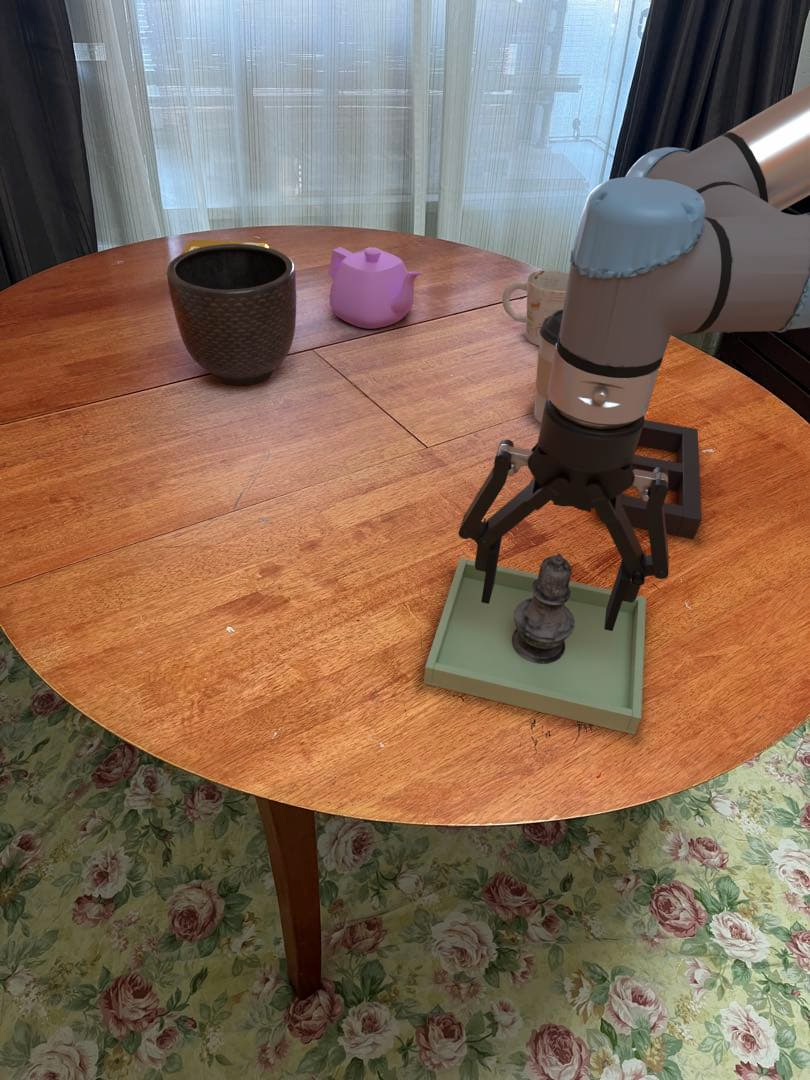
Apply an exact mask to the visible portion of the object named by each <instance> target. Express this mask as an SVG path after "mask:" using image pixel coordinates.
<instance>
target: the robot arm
mask: <svg viewBox="0 0 810 1080" xmlns="http://www.w3.org/2000/svg"><path fill="white" fill-rule="evenodd" d="M809 196H810V83H809V84H807V85H804V86H803V87H802V88H800V89H799V90H797V91H795V92H793V93H792V94H790V95H788V96H786V97H784V98H782V99H781V100H780V101H778V102H776V103H774V104H772V105H771V106H769V107H767V108H766V109H764V110H762V111H761V112H759V113H757V114H755V115H754V116H752V117H750V118H748V119H747V120H744V121H743V122H742V123H740V124H738V125H736V126H735V127H733V128H731V129H730V130H728V131H726V132H724V133H723V134H720V135H719V136H717V137H716V138H714V139H712V140H710V141H709V142H706V143H705V144H703V145H701V146H700V147H697V148H696V149H694V150H692V151H691V150H690V149H685V148H683V147H682V148H680V147H675V146H674V147H673V146H672V147H671V146H666V147H660V148H655V149H652V150H650V151H649V152H647V153H646V154H644V155H642V156H641V157H640V158H638V160H636V162H635V163H634V164H633V165H632V166H631V167H630V169H628V171H627V173H626V174H625V176H622V177H616V178H611V179H608V180H606V181H603V182H601V183H599V184H598V185H596V186H595V187H594V188H593V189H592V190H591V191H590V193H589V195H588V196H587V198H586V200H585V203H584V207H583V211H582V213H581V217H580V220H579V223H578V227H577V231H576V235H575V239H574V242H573V243H574V244H573V247H572V249H571V251H570V260H569V263H570V266H569V278H568V284H567V290H566V296H565V302H564V308H563V314H562V320H561V326H560V332H559V334H558V335H559V336H558V340H557V344H556V347H555V353H554V358H553V364H552V369H551V375H550V380H549V386H548V391H547V393H548V396H549V397H548V398H547V400H546V402H545V406H544V411H543V417H542V422H541V423H540V429H539V434H538V438H537V442H536V444H535V445H534V446H533V447H532V448H531V449H528V448H522V447H516V446H515V444H514V441H512V440H511V439H508V438H505V439H502V440H501V441H500V443H499V444H498V448H497V451H496V455H495V458H494V461H493V462H494V463H493V467H492V469H491V470H490V472H489V474H488V475H487V476H486V478H485V480H484V482H483V483H482V486H481V487H480V488H479V490H478V492H477V493H476V495H475V496H474V498H473V499H472V500H471V502H470V504H469V506H468V508H467V509H466V511H465V512H464V514H463V516H462V519H461V523H460V525H459V528H458V532H457V534H458V536H459V537H460V538H461V539H463V540H469V539H471V540H473V541H474V542H475V544H476V553H475V560H474V561H475V568H476V570H479V571H483V572H486V574H485V581H484V587H483V594H482V600H481V602H482V603H487V604H489V602H490V598H491V594H492V590H493V587H494V582H495V576H496V570H497V566H498V564H499V556H500V551H501V546H502V541H503V540H502V539H503V537H504V536H505V535H506V534H508V533H509V532H510V531H512V529H514V528H515V527H517V525H518V524H520V523H521V522H522V521H524V520H525V519H526V518H527V517H528V516H529V515H531V514H532V513H534V512H535V511H540V510H541V509H542V508H543V507H544V506H546V505H547V504H548V503H549V502H552V505H554V506H558V507H573V508H575V509H577V510H580V511H583V512H589V513H591V512H592V510H595V511H596V513H597V515H598V517H599V520H600V519H601V521H600V522H601V523H602V524H604V525H605V527H606V529H607V531H608V533H609V535H610V537H611V539H612V541H613V544H614V545H615V548H616V549H617V551H618V554H619V555H620V557H621V561H620V563H619V566H618V570H617V573H616V576H615V579H614V583H613V586H612V589H611V590H612V592H611V595H610V599H609V602H608V605H607V608H606V617H605V627H604V629H605V630H609V631H613V628H614V625H615V622H616V619H617V616H618V613H619V610H620V607H621V604H622V601H626V602H630V603H633V602H634V601H635V600H636V597H637V595H639V592H640V588H641V586H643V585H644V584H645V582H646V578H648V577H655V579H658V580H665V579H667V578H668V577H669V573H670V571H669V569H670V567H669V566H670V555H669V553H670V552H669V544H668V534H666V524H665V515H664V505H663V504H664V503H665V501H666V499H667V495H668V492H669V490H668V471H667V469H665V468H663V467H658V468H656V469H654V470H653V472H649V471H644V470H638V469H635V467H634V464H633V459H634V456H635V455H636V452H637V448H638V442H639V438H640V435H641V432H642V428H643V425H644V420H646V419H645V415H646V413H647V412H648V409H649V406H650V402H651V400H652V396H653V392H654V389H655V385H656V381H657V378H658V374H659V372H660V367H661V365H662V362H663V360H664V356H665V353H666V350H667V346H668V344H669V342H670V338H671V336H672V335H680V334H681V335H683V334H686V335H687V334H690V335H691V334H700V333H701V334H702V333H703V334H704V333H740V332H741V333H745V332H747V333H748V332H750V333H751V332H776V333H785V332H786V331H789V330H797V329H798V330H799V329H806V328H810V212H805V213H803V214H790V213H786V212H782V211H783V210H785V209H787V208H789V207H790V206H792V205H794V204H796V203H798V202H799V201H802V200H803V199H805V198H807V197H809ZM522 467H527V468H528V470H529V471H530V473H531V475H532V476H533V477H532V479H531V480H530V482H529V483H528V484H527V485H526V486H525V487H524V488H523V489H522V490H521V491H519V492H518V493H517V494H516V495H515V496H513V497H512V498H511V499H510V500H509V501H507V503H505V504H504V505H503V506H502V507H500V508H499V509H498V510H497V511H496V512H494V513H493V515H491V516H490V517H489V518H488V519H487V518H486V517H485V516H486V515H487V513H488V511H489V510H490V508H491V507H492V505H493V504H494V502H495V501H496V499H497V498H498V496H499V494H500V493H501V491H502V489H503V488H504V486H505V484H506V482H507V480H508V476H509V477H512V476H514V475H515V474H517V473H518V472H519V471H520V469H521V468H522ZM632 486H633V487H635V488H636V489H637V490H638V492H637V493H638V496H639V498H642V500H643V501H647V505H646V515H647V523H648V530H647V531H648V532H647V533H648V538H649V539H648V540H649V546H650V554H646V553H645V552H644V549H643V547H642V544H641V543H640V541H639V538H638V537H637V533H636V532H635V530H634V527H632V526H631V524H630V521H629V519H628V517H627V515H626V513H625V511H624V509H623V507H622V504H621V502H620V497H619V495H620V494H621V493H623V494H624V492H626V491H627V490H628V489H630V488H631V487H632ZM484 517H485V518H484ZM482 520H483V521H482Z"/></svg>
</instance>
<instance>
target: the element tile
mask: <svg viewBox="0 0 810 1080" xmlns="http://www.w3.org/2000/svg"><path fill="white" fill-rule="evenodd" d="M220 244H249V245H257V246H263V247H267V248H270V247H269V245H268V244H267V243H263V242H252V241H251V242H250V241H229V240H210V239H209V240H206V239H192V240H191V241H189V242H188V243H187V244H186V245H185V247H184V249H183V250H182V252H181V254H183V253H185V252H188V251H190V250H193V249H197V248H201V247H206V246H212V245H220ZM181 254H180V255H181Z"/></svg>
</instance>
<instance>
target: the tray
mask: <svg viewBox="0 0 810 1080" xmlns="http://www.w3.org/2000/svg"><path fill="white" fill-rule="evenodd" d="M485 574H486V572H483V571H479V570H476V568H475V560H473V559H467V558H463V557H459V560H458V563H457V566H456V569H455V572H454V575H453V579H452V582H451V585H450V587H449V591H448V593H447V597H446V600H445V604H444V607H443V609H442V613H441V616H440V618H439V621H438V625H437V629H436V632H435V634H434V638H433V641H432V644H431V646H430V647H431V648H430V650H429V654H428V656H427V659H426V663H425V665H424V674H423V675H424V676H423V684H424V685H428V686H431V687H436V688H440V689H444V690H448V691H452V692H456V693H460V694H465V695H469V696H473V697H477V698H482V699H486V700H490V701H494V702H498V703H502V704H507V705H510V706H515V707H518V708H522V709H527V710H531V711H534V712H539V713H544V714H546V715H547V714H548V715H551V716H555V717H559V718H564V719H568V720H571V721H577V722H580V723H585V724H589V725H593V726H597V727H599V728H600V727H601V728H604V729H610V730H613V731H618V732H622V733H626V734H630V735H633V736H634V735H636V733H637V730H638V728H639V725H640V723H641V720H642V711H643V710H642V709H643V688H644V687H643V686H644V685H643V684H644V663H645V662H644V661H645V639H646V636H645V635H646V615H647V614H646V613H647V597H646V596H643V595H639V594H637V597H636V600H635V601H634V602H633V603H630V602H626V601H622V604H621V607H620V610H619V613H618V616H617V619H616V622H615V625H614V628H613V631H609V630H605V629H604V627H605V617H606V608H607V605H608V602H609V599H610V595H611V592H612V589H609V588H605V587H600V586H597V585H596V586H595V585H592V584H586V583H581V582H578V581H577V582H576V581H571V580H570V582H569V586H568V587H569V589H570V598H569V600H568V601H567V602H565V604H564V605H565V606H566V607H567V608H568V609H569V610H570V612H571V613H572V614H573V617H574V620H575V627H574V630H573V632H572V633H571V635H570V636H569V637H567V638H566V639H565V640H564V642H565V651H564V653H563V655H562V656H561V657H560V659H558V660H556V661H555V662H552V663H548V664H538V663H533V662H530V661H528V660H526V659H524V658H522V657H521V656H520V655H519V654H518V653H517V652H516V651H515V649H514V648H513V645H512V635H513V633H514V631H515V630H516V629H517V627H516V624H515V621H514V618H513V617H514V610H515V608H516V606H517V605H518V604H519V603H520V602H522V601H524V600H525V599H528V598H532V597H533V593H532V590H531V589H532V584H533V582H534V581H535V580H537V579H538V575H539V573H534V572H529V571H525V570H520V569H515V568H510V567H506V566H501V565H497V570H496V576H495V582H494V587H493V590H492V594H491V598H490V602H489V604H487V603H482V602H481V600H482V594H483V587H484V581H485Z"/></svg>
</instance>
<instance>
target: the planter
mask: <svg viewBox="0 0 810 1080" xmlns="http://www.w3.org/2000/svg"><path fill="white" fill-rule="evenodd" d="M166 278H167V283H168V289H169V294H170V295H169V296H170V300H171V305H172V309H173V312H174V313H173V314H174V318H175V321H176V324H177V328H178V330H179V334H180V335H179V336H180V337H181V340H182V343H183V345H184V347H185V349H186V350H187V352H188V354H189V355H190V357H191V358H192V360H193V361H194V362H195V363H196V364H197V365H198V366H200V367H201V368H202V369H203V370H205V371H206V372H209V373H210V374H211V375H212V376H213V377H214V378H215V379H216V380H217V381H219V382H220V383H223V384H226V385H229V386H240V387H241V386H242V387H243V386H244V387H245V386H252V385H256V384H259V383H261V382H263V381H265V380H267V379H268V378H270V376H271V375H273V372H274V371H275V369H276V368H278V367H279V366H280V365H281V364H282V363H283V362H284V360H285V359H286V358H287V356H288V355H289V353H290V351H291V348H292V345H293V341H294V337H295V332H296V322H297V280H296V278H297V276H296V268H295V264H294V262H293V260H292V259H291V258H290V257H289V256H287V255H286V254H285V253H284V252H282V251H279V250H277V249H273V248H270V247H269V248H267V247H263V246H257V245H249V244H220V245H212V246H206V247H201V248H197V249H193V250H190V251H188V252H185V253H183V254H179V255H178V256H176V257H174V259H172V261H170V262H169V264H168V266H167V270H166Z"/></svg>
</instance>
